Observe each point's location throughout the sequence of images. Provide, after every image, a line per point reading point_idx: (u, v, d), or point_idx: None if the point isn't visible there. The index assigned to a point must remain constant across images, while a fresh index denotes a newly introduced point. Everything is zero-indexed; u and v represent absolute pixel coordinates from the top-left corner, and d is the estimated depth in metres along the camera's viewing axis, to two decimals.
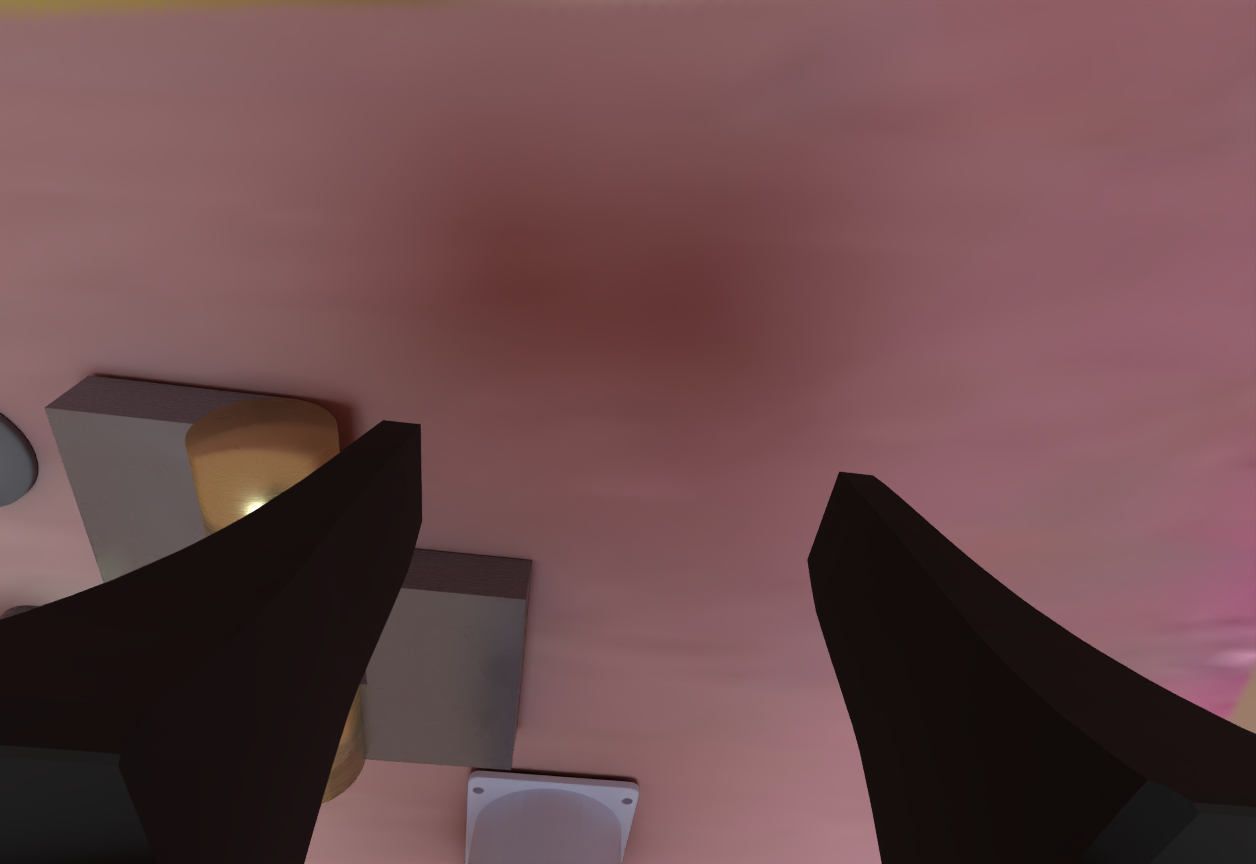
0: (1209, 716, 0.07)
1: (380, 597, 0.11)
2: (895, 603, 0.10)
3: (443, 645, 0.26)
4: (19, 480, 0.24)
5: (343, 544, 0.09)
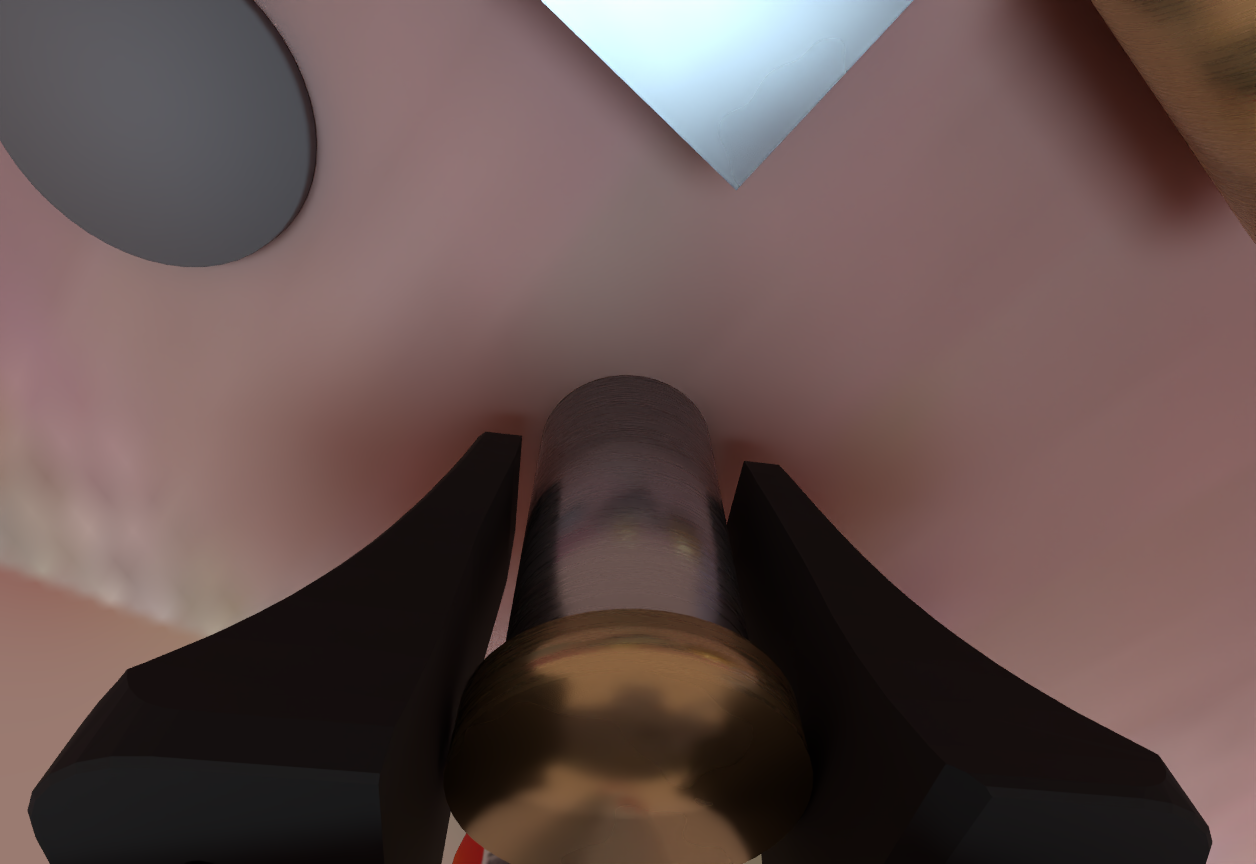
0: (1048, 702, 0.07)
1: (490, 608, 0.11)
2: (779, 592, 0.10)
3: None
4: (254, 51, 0.10)
5: (477, 557, 0.09)
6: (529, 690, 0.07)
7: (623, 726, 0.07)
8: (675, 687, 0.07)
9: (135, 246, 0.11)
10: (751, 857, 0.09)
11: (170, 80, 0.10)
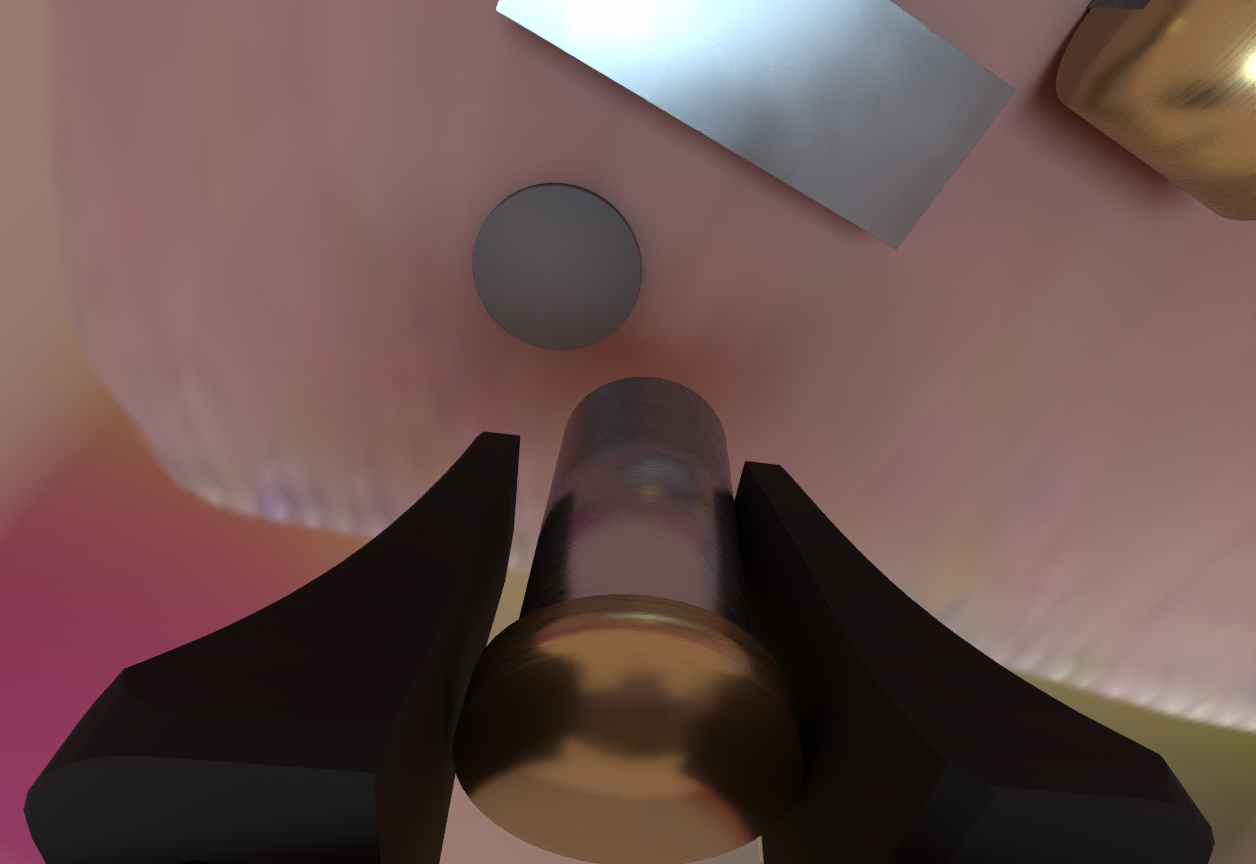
0: (1050, 702, 0.07)
1: (489, 608, 0.11)
2: (781, 592, 0.10)
3: None
4: (615, 229, 0.18)
5: (475, 557, 0.09)
6: (526, 668, 0.07)
7: (616, 705, 0.08)
8: (663, 668, 0.07)
9: (547, 343, 0.20)
10: (749, 840, 0.09)
11: (571, 253, 0.18)
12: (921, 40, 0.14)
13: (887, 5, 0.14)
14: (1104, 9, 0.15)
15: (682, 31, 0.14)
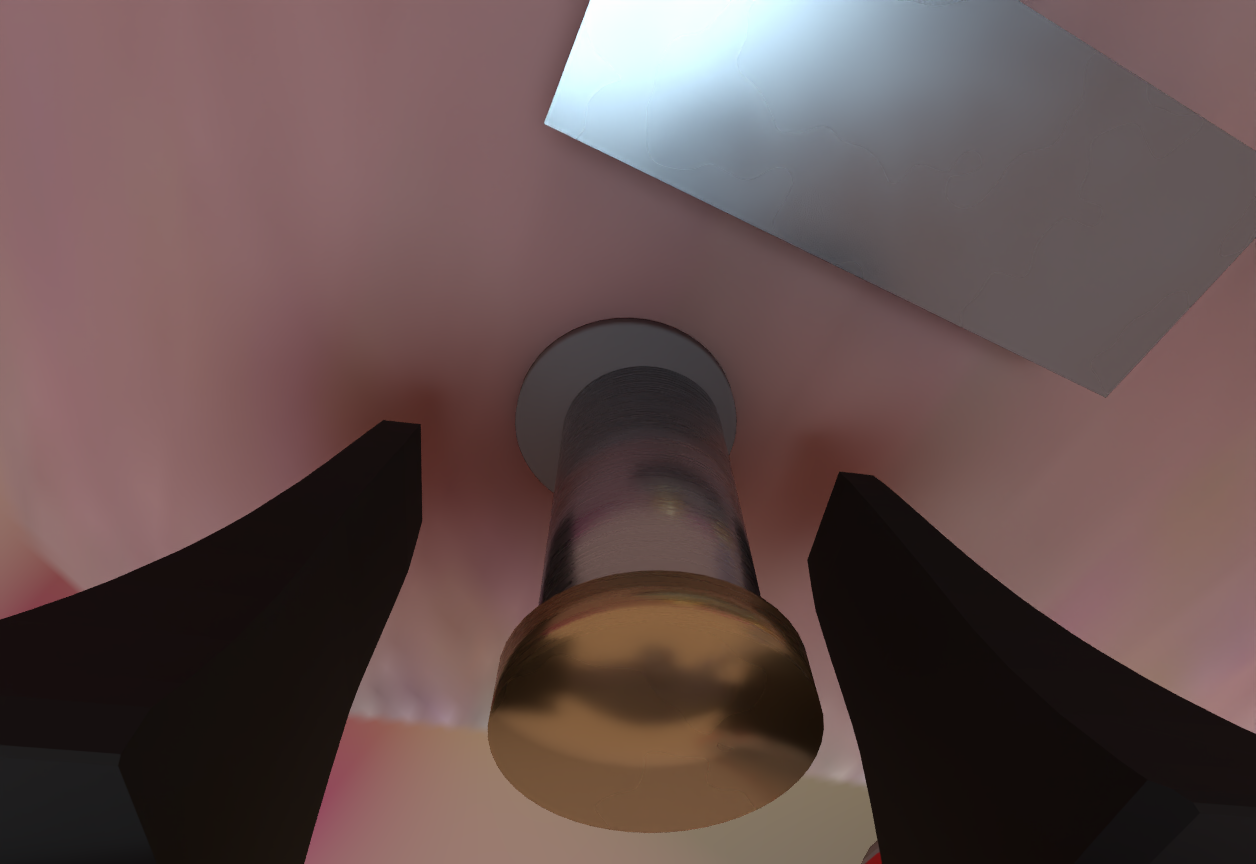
0: (1209, 716, 0.07)
1: (379, 597, 0.11)
2: (895, 603, 0.10)
3: None
4: (703, 373, 0.14)
5: (343, 544, 0.09)
6: (563, 643, 0.08)
7: (648, 675, 0.08)
8: (694, 637, 0.08)
9: None
10: (770, 800, 0.09)
11: None
12: (1172, 124, 0.10)
13: (1126, 79, 0.09)
14: None
15: (817, 135, 0.10)
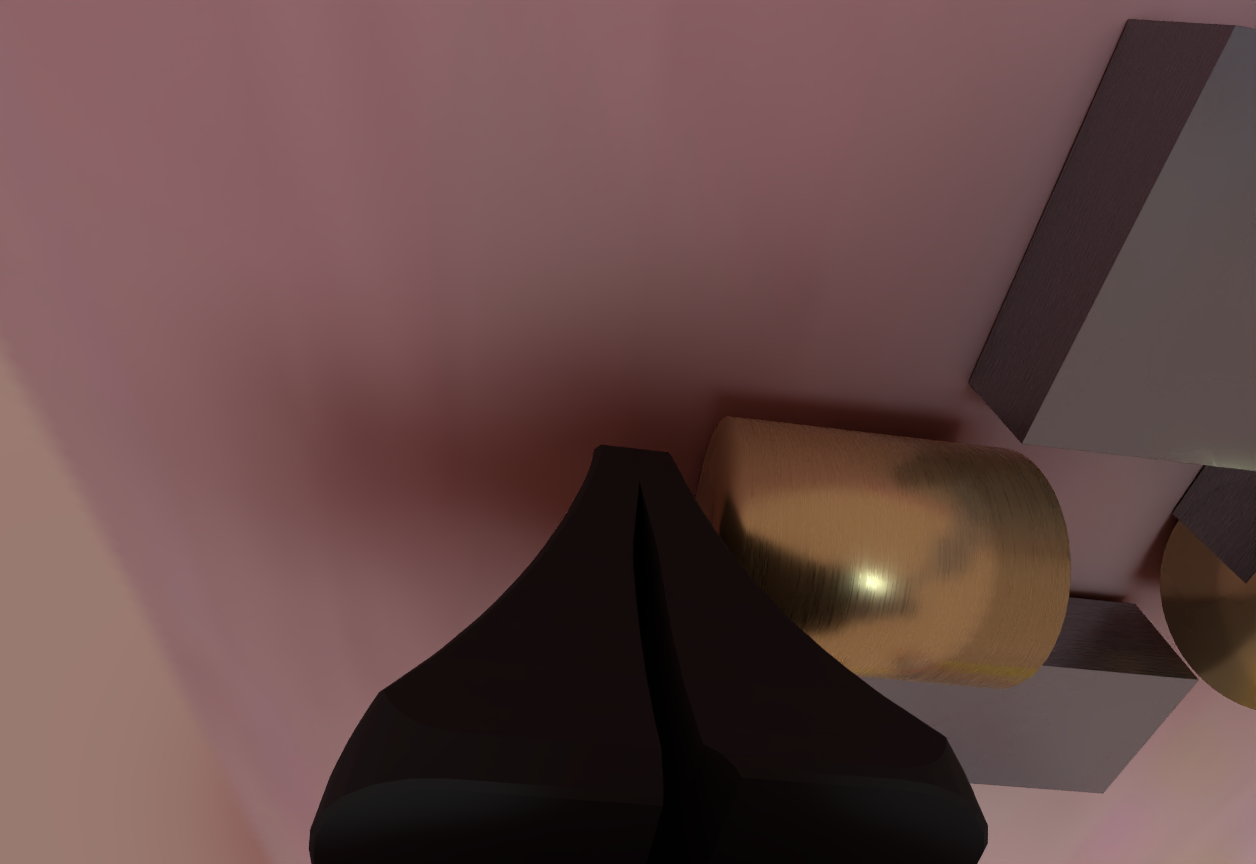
0: (857, 685, 0.07)
1: None
2: (644, 578, 0.10)
3: None
4: None
5: None
6: None
7: None
8: None
9: None
10: None
11: None
12: (1079, 677, 0.14)
13: None
14: (1195, 533, 0.14)
15: None
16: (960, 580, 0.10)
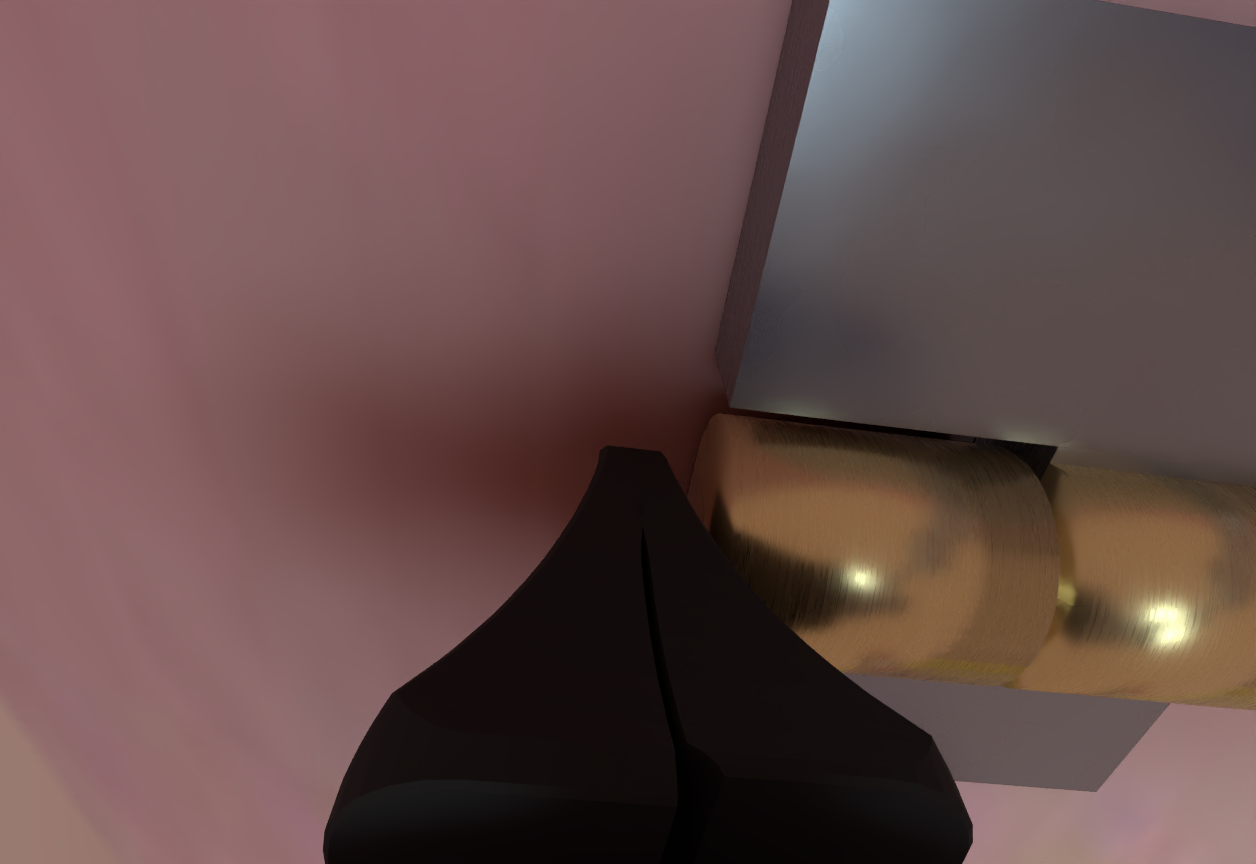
0: (844, 683, 0.07)
1: None
2: None
3: (975, 243, 0.09)
4: None
5: None
6: None
7: None
8: None
9: None
10: None
11: None
12: None
13: None
14: None
15: None
16: (949, 578, 0.10)
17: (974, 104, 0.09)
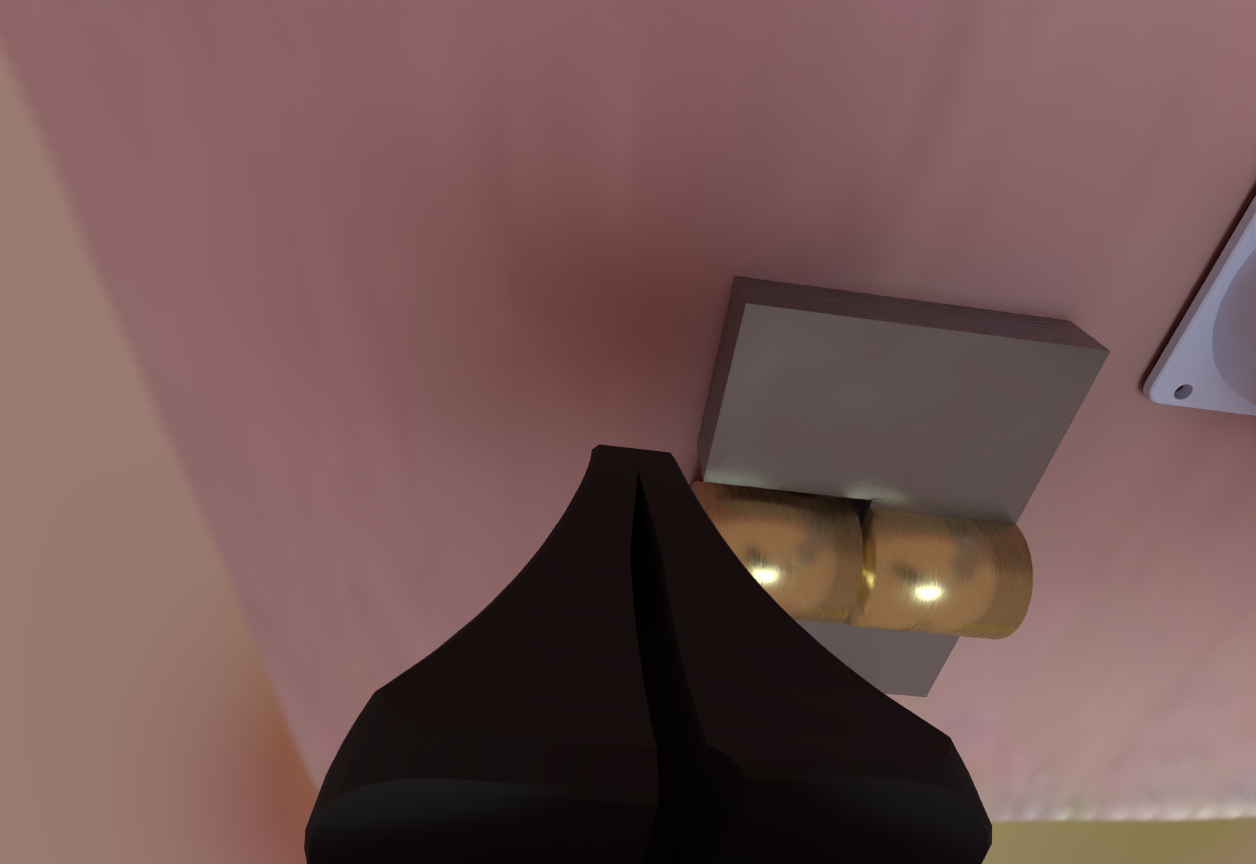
0: (860, 685, 0.07)
1: None
2: (646, 579, 0.10)
3: (817, 409, 0.20)
4: None
5: None
6: None
7: None
8: None
9: None
10: None
11: None
12: None
13: None
14: None
15: None
16: (807, 566, 0.21)
17: (809, 354, 0.19)
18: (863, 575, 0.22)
